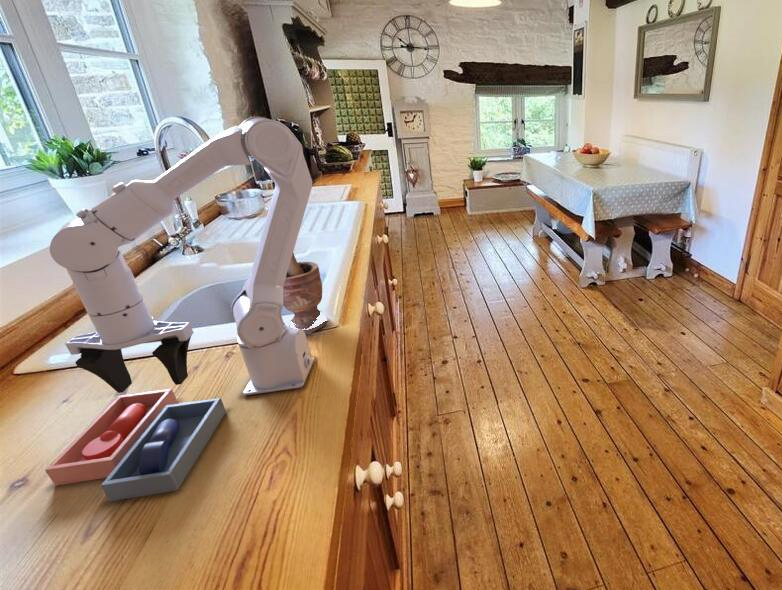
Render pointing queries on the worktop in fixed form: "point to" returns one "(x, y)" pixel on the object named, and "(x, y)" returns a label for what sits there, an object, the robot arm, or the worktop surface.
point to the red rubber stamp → (115, 433)
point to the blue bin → (183, 452)
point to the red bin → (71, 460)
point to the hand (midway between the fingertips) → (153, 384)
